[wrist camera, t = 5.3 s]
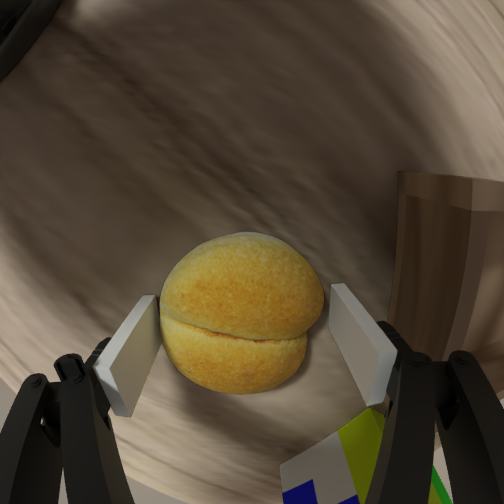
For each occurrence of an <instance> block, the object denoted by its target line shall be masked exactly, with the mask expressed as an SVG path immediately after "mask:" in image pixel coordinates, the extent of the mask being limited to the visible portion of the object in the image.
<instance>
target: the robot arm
mask: <svg viewBox="0 0 504 504" xmlns="http://www.w3.org/2000/svg"><path fill="white" fill-rule="evenodd" d="M61 1H62V0H0V81H1V80H2V79H3V78H4V77H5V76H6V75H7V74H8V72H9V71H10V70H11V69H12V68H13V67H14V66H15V64H16V63H17V62H18V61H19V60H20V59H21V57H22V56H23V55H24V54H25V52H26V51H27V50H28V48H29V47H30V46H31V45H32V43H33V42H34V41H35V39H36V38H37V37H38V35H39V34H40V32H41V31H42V30H43V28H44V27H45V25H46V24H47V23H48V21H49V20H50V18H51V17H52V15H53V13H54V12H55V10H56V9H57V7H58V6H59V4H60V2H61ZM328 327H329V329H330V331H331V333H332V335H333V337H334V339H335V341H336V343H337V345H338V347H339V349H340V351H341V354H342V356H343V358H344V360H345V362H346V364H347V366H348V368H349V370H350V372H351V374H352V376H353V378H354V380H355V382H356V385H357V387H358V389H359V391H360V393H361V395H362V397H363V399H364V402H365V404H366V406H369V405H374V404H378V403H382V402H383V401H384V398H385V395H386V393H387V394H388V396H389V398H390V401H389V404H388V407H387V409H386V412H385V415H384V417H385V418H386V419H385V425H384V430H383V435H382V440H381V444H380V449H379V453H378V457H377V461H376V465H375V469H374V473H373V476H372V480H371V483H370V487H369V490H368V493H367V497H366V500H365V503H364V504H428V500H429V493H430V486H431V478H432V468H433V455H434V440H435V422H436V425H437V429H438V433H439V436H440V440H441V444H442V448H443V452H444V456H445V461H446V465H447V470H448V475H449V480H450V485H451V491H452V497H453V503H454V504H504V409H503V407H502V405H501V403H500V401H499V399H498V397H497V395H496V393H495V391H494V389H493V388H492V386H491V384H490V382H489V380H488V379H487V377H486V375H485V373H484V372H483V370H482V368H481V366H480V365H479V363H478V361H477V360H476V358H475V357H474V356H473V355H472V354H471V353H469V352H467V351H464V350H457V351H453V352H452V353H451V354H450V356H449V358H448V361H432V359H431V358H430V357H429V356H428V355H426V354H424V353H421V352H414V351H413V350H412V349H411V347H410V346H409V345H408V344H407V343H406V341H405V340H404V339H403V338H402V337H401V335H400V334H399V333H397V331H396V330H395V328H394V327H393V326H392V325H390V324H389V323H387V322H385V321H379V322H375V321H374V320H373V318H372V317H371V316H370V315H369V313H368V312H367V311H366V309H365V308H364V307H363V306H362V305H361V303H360V302H359V301H358V300H357V298H356V297H355V296H354V295H353V293H352V292H351V291H350V290H349V289H348V287H347V286H346V285H345V284H344V283H339V284H331V294H330V311H329V326H328ZM161 343H162V337H161V333H160V315H159V311H158V306H157V301H156V296H155V295H143V296H142V297H141V298H140V300H139V301H138V302H137V304H136V305H135V307H134V308H133V309H132V311H131V312H130V313H129V315H128V316H127V318H126V319H125V320H124V322H123V323H122V325H121V326H120V327H119V329H118V330H117V332H116V333H115V334H114V336H113V337H112V338H110V337H107V338H105V339H104V340H103V341H101V342H100V343H99V344H98V346H97V347H96V348H95V350H94V351H93V352H92V355H90V357H89V358H88V359H87V361H86V362H85V364H84V362H83V360H82V357H81V356H80V355H78V354H74V353H72V354H66V355H63V356H61V357H60V358H58V359H57V360H56V361H55V363H54V368H55V370H56V372H57V374H58V376H59V378H60V380H61V382H49V381H48V379H47V377H46V376H45V375H44V374H41V373H37V374H32V375H30V376H29V377H27V378H26V379H25V381H24V382H23V384H22V386H21V388H20V390H19V392H18V394H17V396H16V398H15V401H14V403H13V405H12V407H11V409H10V411H9V414H8V416H7V418H6V421H5V423H4V426H3V428H2V431H1V433H0V504H58V499H59V491H60V483H61V476H62V470H64V478H65V485H66V493H67V498H68V504H135V503H134V500H133V497H132V495H131V492H130V489H129V486H128V483H127V480H126V476H125V473H124V470H123V466H122V463H121V459H120V456H119V452H118V448H117V444H116V440H115V436H114V432H113V428H112V423H111V419H110V417H109V415H108V411H109V409H110V407H111V408H112V410H113V412H114V414H115V415H116V416H123V417H131V416H132V413H133V411H134V408H135V406H136V403H137V401H138V398H139V396H140V393H141V391H142V388H143V386H144V383H145V381H146V379H147V376H148V374H149V371H150V369H151V367H152V364H153V362H154V359H155V357H156V355H157V352H158V350H159V348H160V345H161ZM41 418H42V419H43V423H42V425H41Z"/></svg>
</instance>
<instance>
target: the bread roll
mask: <svg viewBox="0 0 504 504" xmlns="http://www.w3.org/2000/svg"><path fill="white" fill-rule="evenodd" d="M323 304H324V292H323V287H322V284H321V282H320V280H319V278H318V277H317V275H316V273H315V271H314V270H313V268H312V267H311V265H310V264H309V263H308V262H307V261H306V259H305V258H304V257H303V256H301V255H300V254H299V253H298V252H297V251H296V250H294V249H293V248H292V247H291V246H289V245H288V244H287V243H285V242H283V241H282V240H280V239H277V238H275V237H273V236H269V235H265V234H262V233H257V232H238V233H234V234H229V235H225V236H221V237H217V238H214V239H212V240H209V241H207V242H204V243H201V244H200V245H198V246H197V247H195V248H194V249H192V250H191V251H189V252H188V254H187V255H185V256H184V257H183V259H181V260H180V261H179V262H178V263H177V264H176V265H175V267H174V268H173V269H172V272H170V273H169V275H168V277H167V279H166V281H165V283H164V285H163V289H162V293H161V297H160V333H161V337H162V342H163V344H164V347H165V349H166V352H167V354H168V357H169V358H170V360H171V361H172V362H173V364H174V365H175V366H176V368H177V369H178V370H179V371H180V372H181V374H183V375H184V376H186V377H187V378H188V379H190V380H191V381H193V382H195V383H197V384H198V385H200V386H203V387H205V388H208V389H210V390H214V391H217V392H221V393H227V394H239V395H243V394H254V393H260V392H265V391H268V390H271V389H273V388H275V387H276V386H278V385H280V384H282V383H283V382H285V381H286V380H288V379H289V378H291V377H292V376H293V375H294V374H295V372H296V371H297V370H298V369H299V367H300V366H301V364H302V362H303V360H304V356H305V353H306V348H307V331H306V330H308V329H309V328H310V327H311V326H312V325H313V324H314V323H315V322H316V321H317V319H318V318H319V316H320V314H321V312H322V308H323Z"/></svg>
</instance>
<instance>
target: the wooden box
mask: <svg viewBox="0 0 504 504" xmlns="http://www.w3.org/2000/svg"><path fill="white" fill-rule="evenodd" d="M398 178H399V195H398V227H397V244H396V256H395V267H394V276H393V285H392V292H391V300H390V307H389V313H388V319H387V323H389V324H390V325H392V326H393V327H394V328H395V330H396V331H397V333H399V334H400V335H401V337H402V338H403V339H404V340H405V341H406V343H407V344H408V345H409V346H410V347H411V349H412V350H413V351H414V352H421V353H424V354H426V355H428V356H429V357H430V358H431V359H432V361H448V358H449V356H450V354H451V353H452V352H453V351H457V350H464V351H467V352H469V353H471V354H472V355H473V356H474V357H475V358H476V360H477V361H478V363H479V365H480V366H481V368H482V370H483V372H484V373H485V375H486V377H487V379H488V380H489V382H490V384H491V386H492V388H493V389H494V391H495V393H496V395H497V397H498V399H499V400H501V399H502V398H504V182H501V181H494V180H487V179H480V178H472V177H463V176H454V175H444V174H432V173H419V172H403V171H398ZM389 401H390V398H389V396H388V394H387V393H386V395H385V398H384V401H383V402H384V403H385V405H386V407H388V404H389ZM437 431H438V429H437V425H436V422H435V432H437Z"/></svg>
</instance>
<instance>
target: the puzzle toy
mask: <svg viewBox="0 0 504 504" xmlns="http://www.w3.org/2000/svg"><path fill="white" fill-rule="evenodd" d="M385 419H386V418H385V417H384V416H383V415H382V414H380V413H378V412H377V411H375V410H373V409H372V408H370V407H369V408H368V409H366V410H365V411H364V412H362V413H361V414H360V415H358V416H357V417H356V418H354V419H353V420H351V421H350V422H349V423H347V424H346V425H344V426H343V427H341V428H340V429H339V430H337V431H336V432H334V433H333V434H331V435H330V436H328V437H326V438H325V439H323V440H322V441H320V442H319V443H317V444H315V445H314V446H312V447H310V448H309V449H307V450H305V451H304V452H302V453H300V454H299V455H297V456H295V457H293V458H291V459H290V460H288V461H286V462H284V463H282V464H280V465H279V468H280V477H281V486H282V495H283V503H284V504H364V503H365V500H366V497H367V493H368V490H369V487H370V483H371V480H372V476H373V473H374V469H375V465H376V461H377V457H378V453H379V449H380V444H381V440H382V435H383V430H384V425H385ZM428 504H452V501H451V499H450V497H449V495H448V493H447V491H446V489H445V487H444V485H443V483H442V482H441V479H440V477H439V476H438V473H437V471H436V470H435V468H434V466H433V468H432V478H431V486H430V493H429V500H428Z"/></svg>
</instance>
